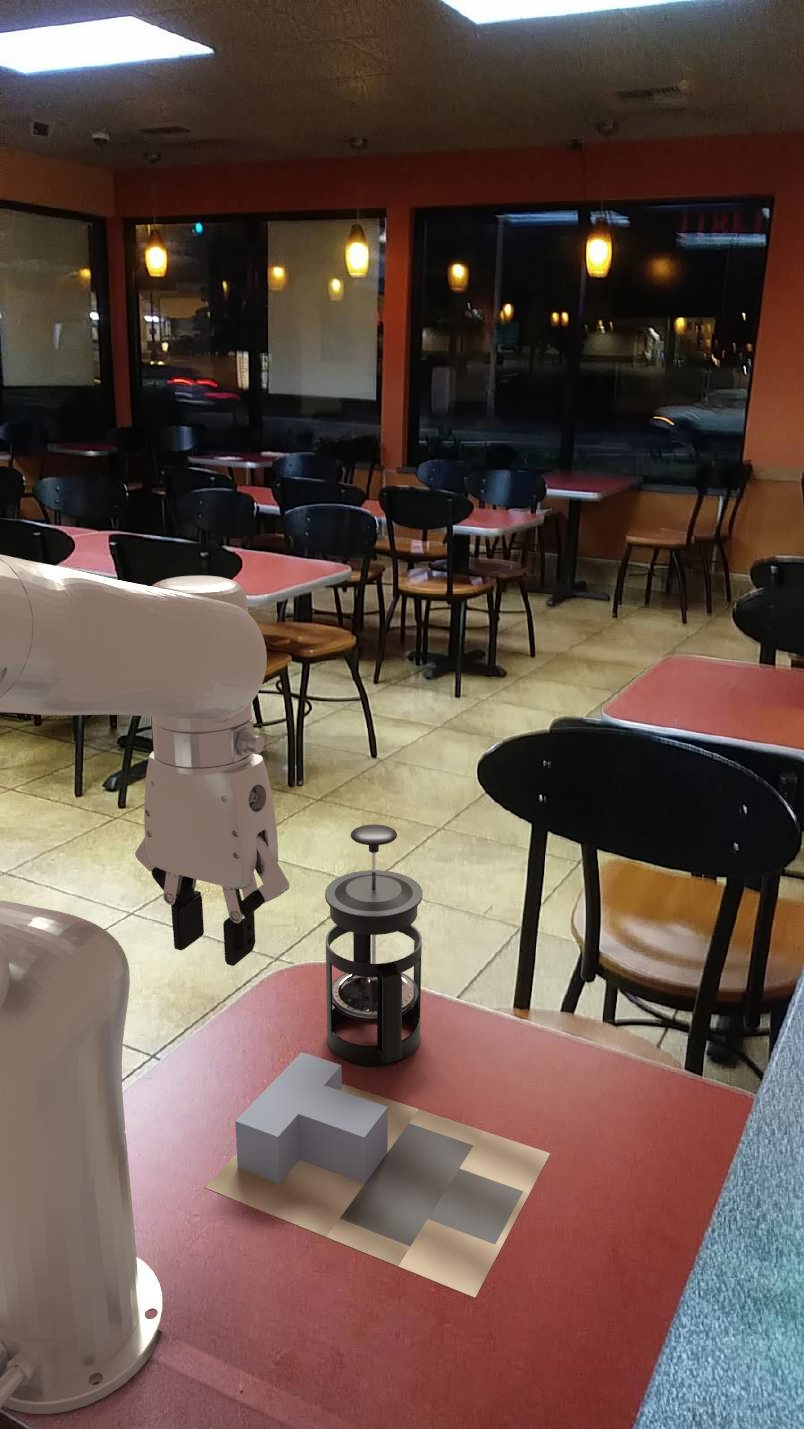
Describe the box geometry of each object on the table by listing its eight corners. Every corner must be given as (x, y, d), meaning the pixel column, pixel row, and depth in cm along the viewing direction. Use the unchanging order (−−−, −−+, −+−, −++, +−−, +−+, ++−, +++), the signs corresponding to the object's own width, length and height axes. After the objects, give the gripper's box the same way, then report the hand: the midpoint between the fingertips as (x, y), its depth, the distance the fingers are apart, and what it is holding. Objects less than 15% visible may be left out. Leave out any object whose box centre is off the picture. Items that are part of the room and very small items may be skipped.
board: (474, 1310, 75) (475, 1297, 75) (205, 1199, 85) (205, 1187, 84) (549, 1165, 88) (550, 1153, 88) (310, 1083, 98) (310, 1072, 98)
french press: (314, 1024, 107) (310, 813, 100) (404, 1009, 109) (406, 802, 102) (341, 1098, 96) (339, 867, 89) (440, 1080, 99) (446, 854, 92)
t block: (345, 1209, 82) (345, 1161, 81) (237, 1167, 86) (235, 1120, 85) (403, 1130, 91) (404, 1085, 89) (302, 1095, 95) (301, 1052, 93)
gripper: (323, 742, 82) (326, 953, 87) (147, 710, 89) (161, 907, 94) (269, 774, 75) (276, 999, 81) (84, 737, 82) (103, 946, 88)
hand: (214, 947), depth 88 cm, fingers open, 4 cm apart
